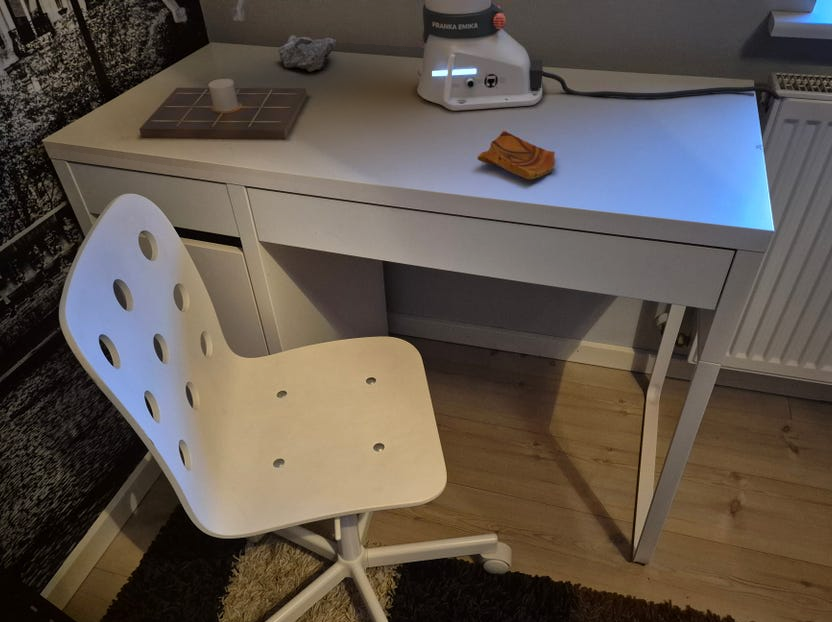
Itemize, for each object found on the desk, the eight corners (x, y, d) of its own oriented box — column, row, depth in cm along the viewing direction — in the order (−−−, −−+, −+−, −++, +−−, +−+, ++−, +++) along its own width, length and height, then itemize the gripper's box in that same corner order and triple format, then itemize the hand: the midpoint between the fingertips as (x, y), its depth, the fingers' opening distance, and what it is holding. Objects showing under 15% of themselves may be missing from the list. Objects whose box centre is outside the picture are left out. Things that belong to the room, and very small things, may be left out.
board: (307, 96, 121) (305, 87, 120) (285, 139, 108) (283, 129, 107) (178, 95, 123) (176, 86, 122) (141, 137, 109) (138, 128, 108)
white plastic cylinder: (241, 102, 115) (236, 78, 113) (234, 111, 112) (229, 87, 110) (217, 102, 116) (212, 78, 113) (210, 111, 113) (204, 87, 110)
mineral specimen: (317, 79, 128) (266, 66, 132) (347, 64, 136) (298, 51, 139) (316, 47, 124) (264, 34, 128) (347, 33, 132) (297, 21, 135)
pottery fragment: (499, 128, 101) (562, 129, 97) (502, 156, 104) (564, 159, 100) (470, 156, 95) (537, 159, 90) (475, 186, 98) (539, 190, 93)
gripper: (262, -90, 97) (279, 13, 107) (127, -85, 99) (156, 16, 108) (251, -81, 93) (270, 26, 102) (110, -77, 94) (141, 28, 104)
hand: (210, 20), depth 105 cm, fingers open, 8 cm apart
